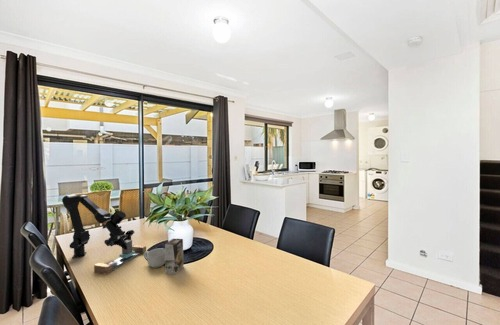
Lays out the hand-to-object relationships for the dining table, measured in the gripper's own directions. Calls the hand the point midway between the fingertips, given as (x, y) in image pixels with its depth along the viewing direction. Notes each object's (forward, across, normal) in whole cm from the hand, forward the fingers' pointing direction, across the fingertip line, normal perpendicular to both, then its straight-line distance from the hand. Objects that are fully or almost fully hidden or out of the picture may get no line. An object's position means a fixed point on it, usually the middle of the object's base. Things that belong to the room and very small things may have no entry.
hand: (129, 247), depth 147 cm
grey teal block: (+2, -1, -4) cm, 5 cm away
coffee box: (+30, +8, +19) cm, 37 cm away
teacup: (+20, +4, +9) cm, 22 cm away
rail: (+4, +3, -6) cm, 8 cm away
